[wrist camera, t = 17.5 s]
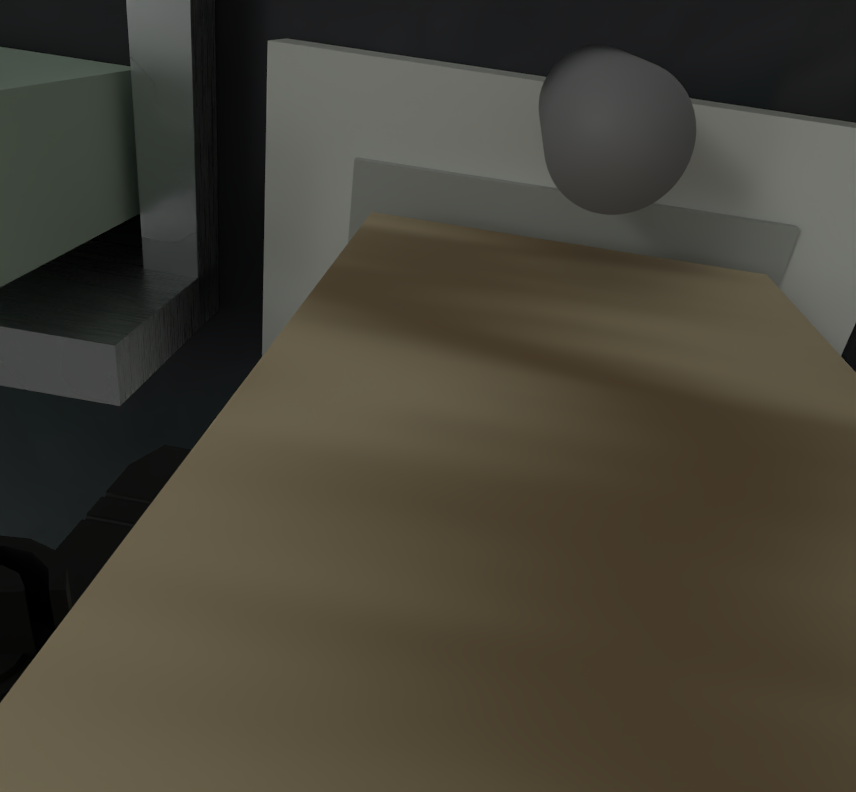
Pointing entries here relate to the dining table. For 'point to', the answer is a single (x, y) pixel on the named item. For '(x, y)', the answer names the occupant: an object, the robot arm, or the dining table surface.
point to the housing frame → (160, 228)
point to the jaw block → (483, 546)
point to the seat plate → (503, 140)
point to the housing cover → (62, 155)
